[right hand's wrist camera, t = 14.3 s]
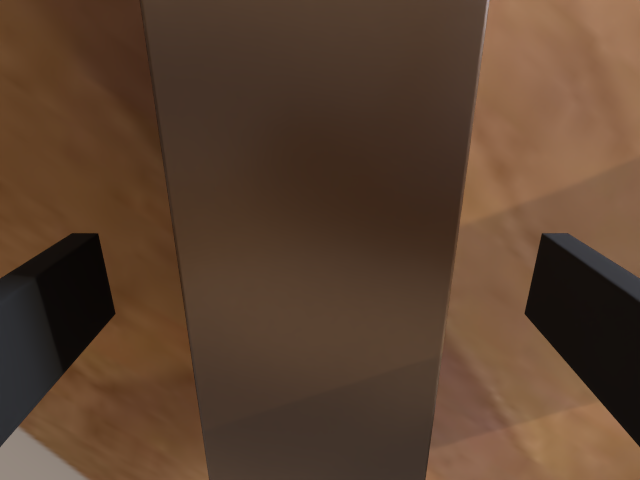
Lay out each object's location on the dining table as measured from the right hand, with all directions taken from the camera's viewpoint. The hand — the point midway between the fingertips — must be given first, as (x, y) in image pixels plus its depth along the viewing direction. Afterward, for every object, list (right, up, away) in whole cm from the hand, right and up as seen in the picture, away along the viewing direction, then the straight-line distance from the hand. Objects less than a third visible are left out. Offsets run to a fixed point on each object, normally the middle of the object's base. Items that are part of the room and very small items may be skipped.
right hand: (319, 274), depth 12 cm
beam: (0, +27, -6) cm, 27 cm away
